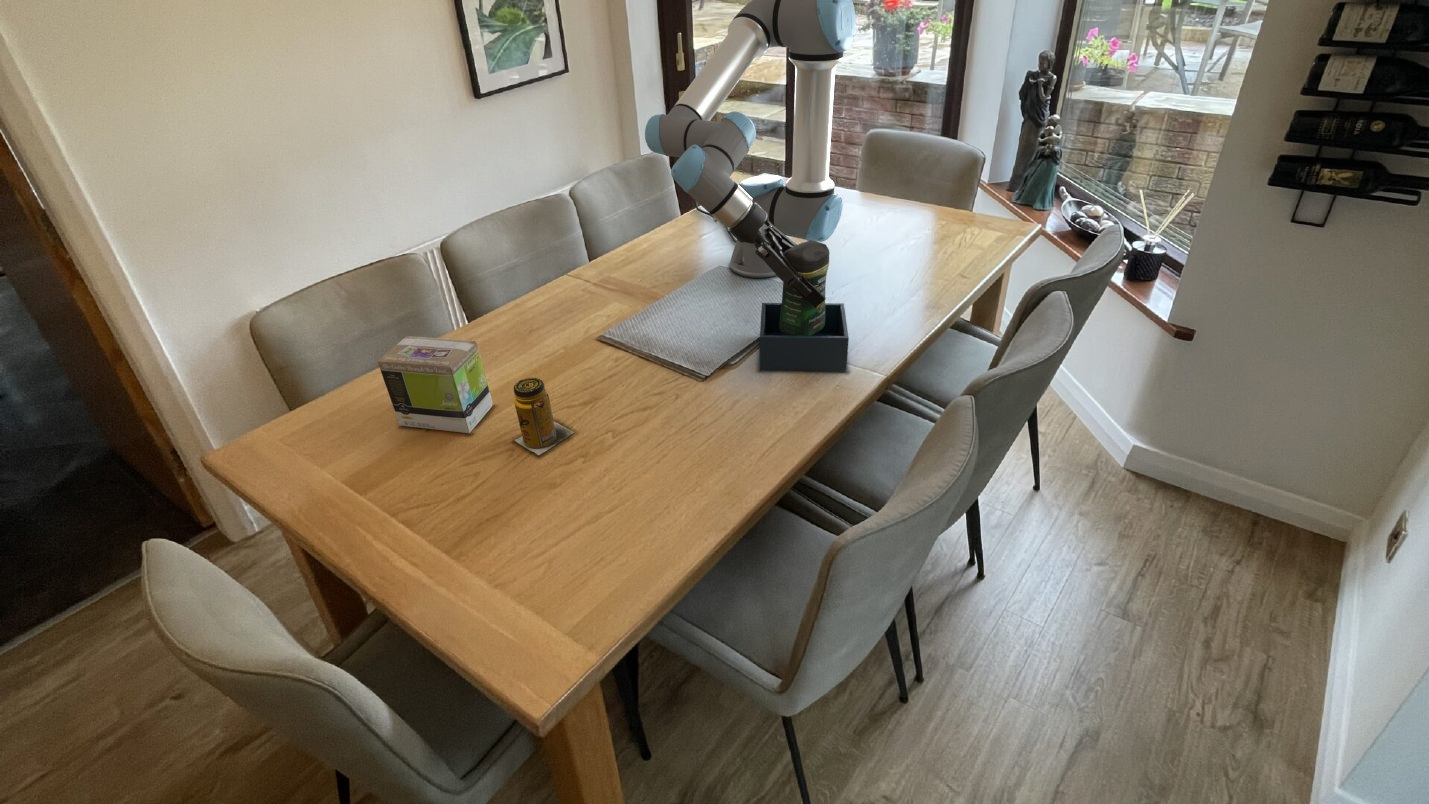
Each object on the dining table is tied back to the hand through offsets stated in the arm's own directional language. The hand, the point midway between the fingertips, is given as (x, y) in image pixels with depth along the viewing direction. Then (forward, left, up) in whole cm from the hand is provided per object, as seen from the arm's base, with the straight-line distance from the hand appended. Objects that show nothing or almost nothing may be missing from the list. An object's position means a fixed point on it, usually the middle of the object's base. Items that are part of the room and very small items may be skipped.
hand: (819, 290), depth 147 cm
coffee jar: (0, -3, -9) cm, 10 cm away
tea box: (+25, -72, -15) cm, 77 cm away
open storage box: (0, -3, -15) cm, 15 cm away
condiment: (+31, -51, -15) cm, 61 cm away
